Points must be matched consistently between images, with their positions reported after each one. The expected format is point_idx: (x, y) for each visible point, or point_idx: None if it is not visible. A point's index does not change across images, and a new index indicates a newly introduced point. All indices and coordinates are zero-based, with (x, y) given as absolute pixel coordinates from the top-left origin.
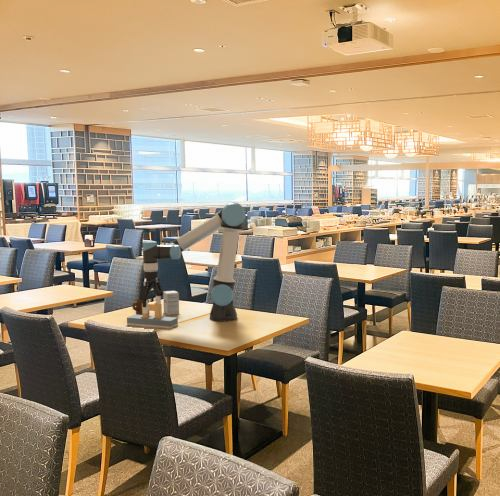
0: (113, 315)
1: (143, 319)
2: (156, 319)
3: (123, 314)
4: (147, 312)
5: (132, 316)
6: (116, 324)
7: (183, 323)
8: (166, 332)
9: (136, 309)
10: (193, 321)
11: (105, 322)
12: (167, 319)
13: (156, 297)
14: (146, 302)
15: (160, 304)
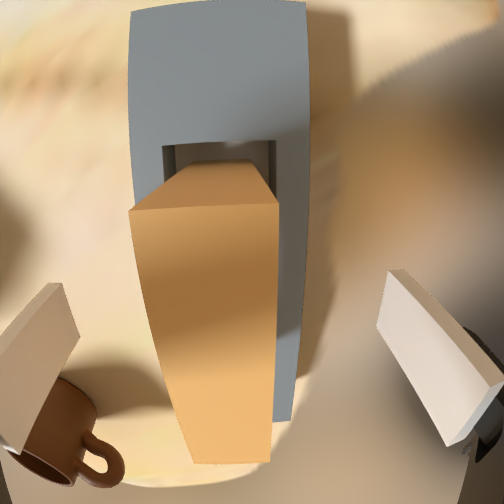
0: (143, 473)
1: (301, 310)
2: (292, 175)
3: None
4: (407, 274)
5: None
6: (285, 422)
7: (88, 33)
8: (403, 25)
9: (105, 446)
10: (26, 23)
11: None
12: (251, 55)
13: (18, 428)
14: (487, 370)
15: (181, 203)
